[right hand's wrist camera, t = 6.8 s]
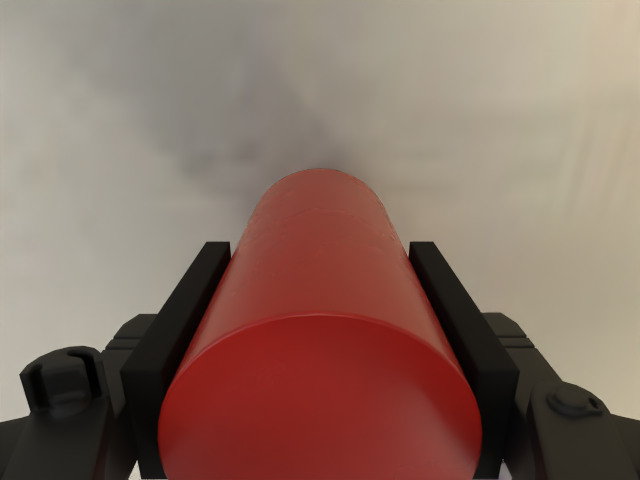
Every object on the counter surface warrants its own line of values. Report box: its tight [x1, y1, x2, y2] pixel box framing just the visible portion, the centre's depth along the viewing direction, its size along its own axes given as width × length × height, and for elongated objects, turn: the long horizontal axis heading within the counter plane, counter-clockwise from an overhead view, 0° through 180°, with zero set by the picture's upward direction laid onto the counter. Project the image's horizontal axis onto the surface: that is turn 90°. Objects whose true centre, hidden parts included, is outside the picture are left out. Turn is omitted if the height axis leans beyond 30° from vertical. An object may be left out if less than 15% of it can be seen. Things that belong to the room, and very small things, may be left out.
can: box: [157, 169, 482, 480], centre depth 13 cm, size 6×6×11 cm
